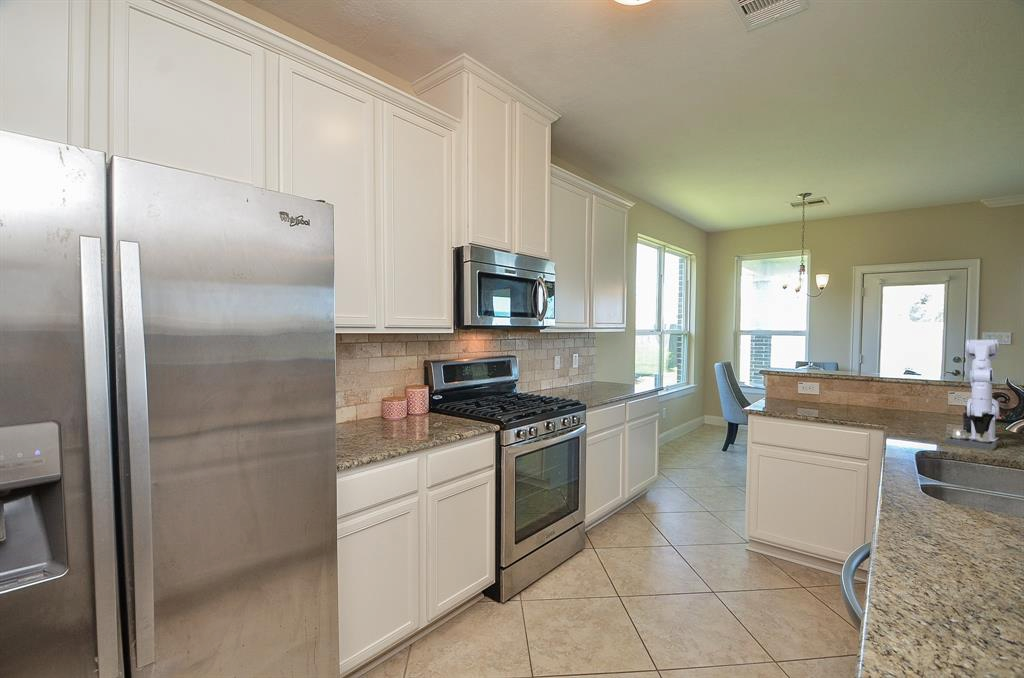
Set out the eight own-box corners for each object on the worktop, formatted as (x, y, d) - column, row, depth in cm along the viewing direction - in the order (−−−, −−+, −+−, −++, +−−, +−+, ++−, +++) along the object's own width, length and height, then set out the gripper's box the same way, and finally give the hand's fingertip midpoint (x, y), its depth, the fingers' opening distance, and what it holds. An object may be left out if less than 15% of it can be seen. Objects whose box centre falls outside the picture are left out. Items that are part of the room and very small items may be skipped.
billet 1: (953, 442, 188) (953, 428, 188) (967, 444, 185) (967, 429, 185) (951, 443, 186) (951, 429, 186) (965, 445, 183) (965, 431, 183)
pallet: (951, 442, 191) (951, 436, 191) (996, 448, 180) (996, 441, 180) (945, 444, 186) (945, 438, 186) (991, 451, 175) (991, 444, 175)
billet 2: (976, 445, 183) (976, 431, 183) (990, 447, 180) (990, 432, 180) (974, 446, 180) (974, 432, 181) (988, 448, 177) (988, 433, 177)
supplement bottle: (974, 431, 215) (974, 406, 215) (987, 433, 208) (987, 408, 208) (958, 430, 216) (958, 406, 216) (971, 433, 209) (971, 408, 209)
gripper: (992, 401, 173) (993, 436, 173) (999, 398, 181) (1000, 432, 181) (967, 399, 179) (967, 433, 178) (974, 396, 187) (975, 429, 187)
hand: (982, 432), depth 180 cm, fingers open, 7 cm apart
